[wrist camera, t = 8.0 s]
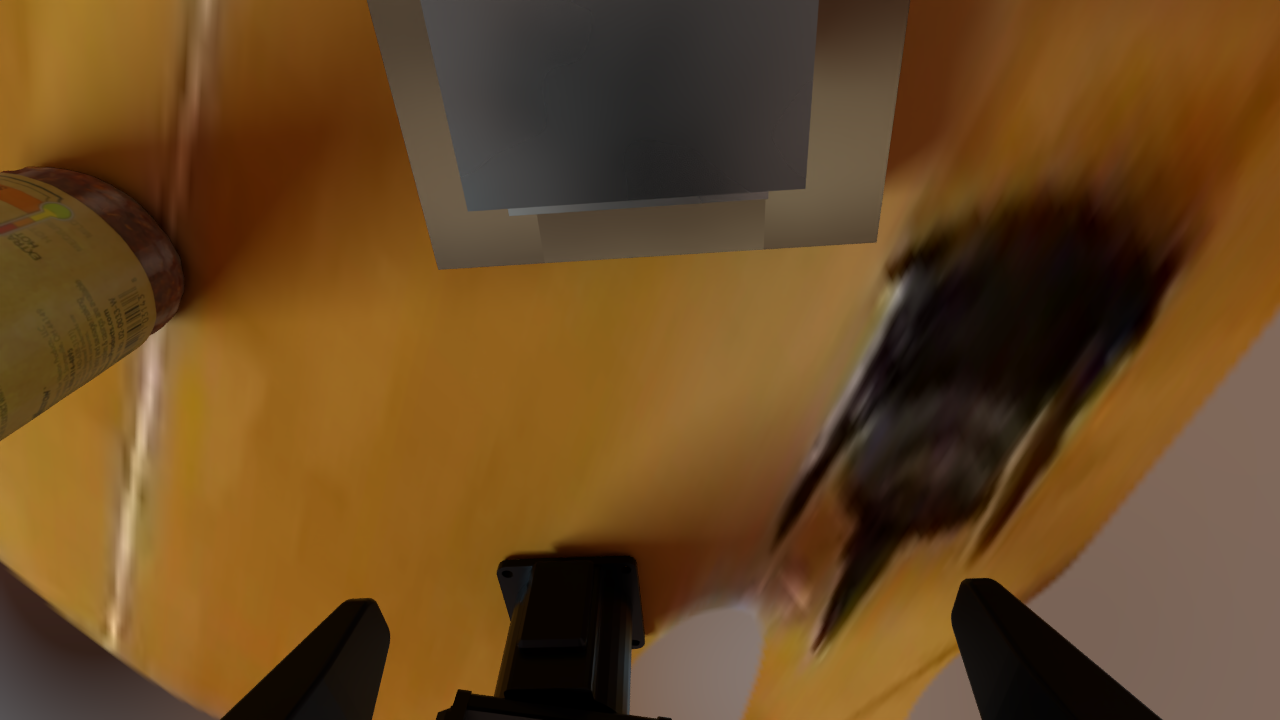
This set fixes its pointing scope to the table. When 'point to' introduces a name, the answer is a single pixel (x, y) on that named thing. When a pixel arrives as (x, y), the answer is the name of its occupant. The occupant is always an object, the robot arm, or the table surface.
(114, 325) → the sauce bottle
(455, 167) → the stand base
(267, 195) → the table surface
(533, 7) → the column
